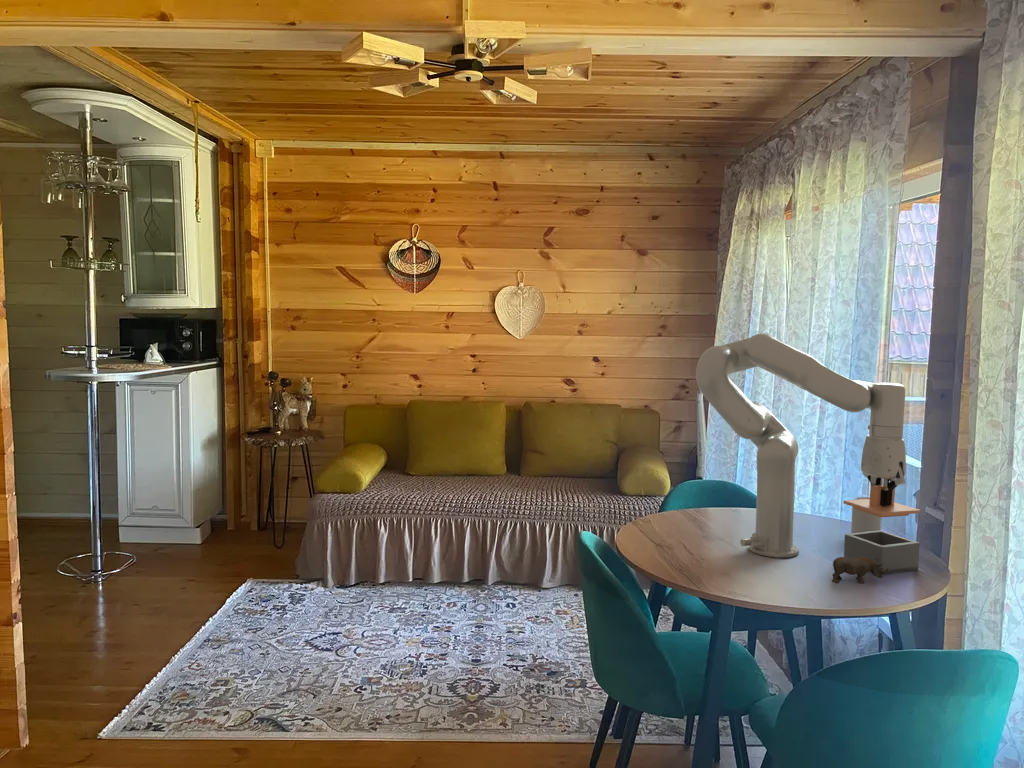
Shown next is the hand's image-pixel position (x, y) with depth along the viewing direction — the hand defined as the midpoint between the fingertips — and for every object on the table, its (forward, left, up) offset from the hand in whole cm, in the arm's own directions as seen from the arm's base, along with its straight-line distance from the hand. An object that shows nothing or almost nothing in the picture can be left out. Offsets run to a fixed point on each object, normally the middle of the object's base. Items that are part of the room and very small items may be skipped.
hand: (881, 503), depth 185 cm
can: (+14, +18, -16) cm, 28 cm away
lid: (0, 0, -2) cm, 2 cm away
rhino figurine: (-14, -8, -16) cm, 23 cm away
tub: (0, 0, -16) cm, 16 cm away
